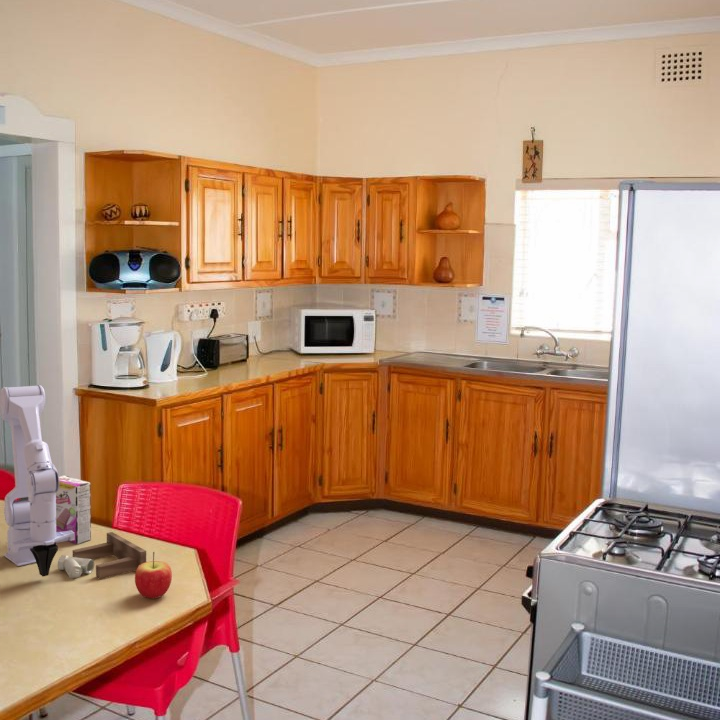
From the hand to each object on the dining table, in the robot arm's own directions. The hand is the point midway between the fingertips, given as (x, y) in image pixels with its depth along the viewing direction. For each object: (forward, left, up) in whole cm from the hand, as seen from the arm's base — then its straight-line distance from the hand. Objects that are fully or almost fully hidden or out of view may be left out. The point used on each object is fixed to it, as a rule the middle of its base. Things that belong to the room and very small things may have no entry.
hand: (44, 574), depth 203 cm
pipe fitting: (0, +7, -2) cm, 7 cm away
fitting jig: (0, +16, -1) cm, 16 cm away
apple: (+24, +15, -2) cm, 29 cm away
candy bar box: (-24, +17, -2) cm, 30 cm away
